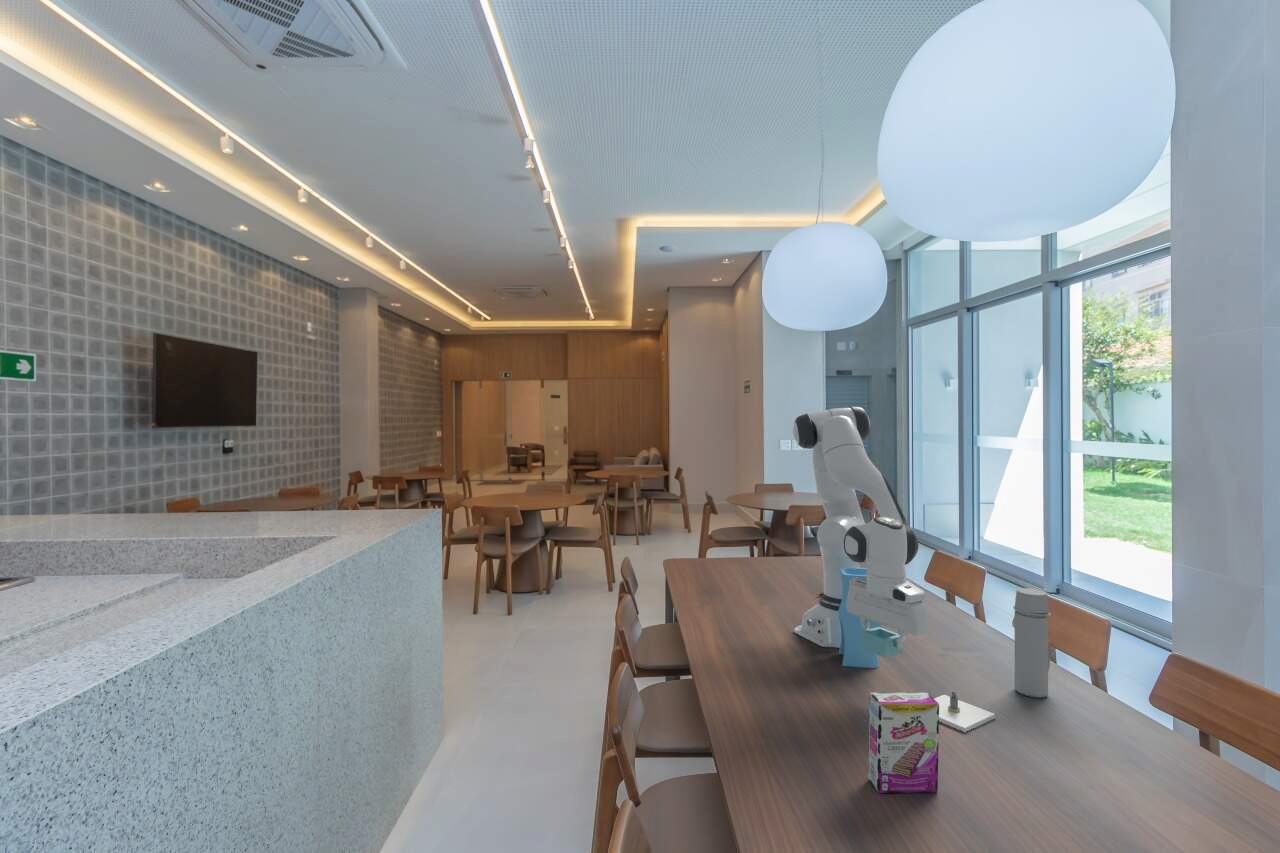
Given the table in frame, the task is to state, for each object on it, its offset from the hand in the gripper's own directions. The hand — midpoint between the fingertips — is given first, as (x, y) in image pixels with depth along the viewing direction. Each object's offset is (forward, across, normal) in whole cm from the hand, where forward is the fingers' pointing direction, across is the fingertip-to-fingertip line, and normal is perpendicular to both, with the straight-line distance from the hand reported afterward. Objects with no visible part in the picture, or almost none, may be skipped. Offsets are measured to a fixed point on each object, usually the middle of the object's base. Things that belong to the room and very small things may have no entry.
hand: (882, 641), depth 150 cm
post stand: (+13, +15, +6) cm, 21 cm away
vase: (+14, -18, +15) cm, 27 cm away
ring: (+2, 0, 0) cm, 2 cm away
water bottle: (+12, +19, +34) cm, 41 cm away
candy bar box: (+13, +26, -29) cm, 41 cm away
